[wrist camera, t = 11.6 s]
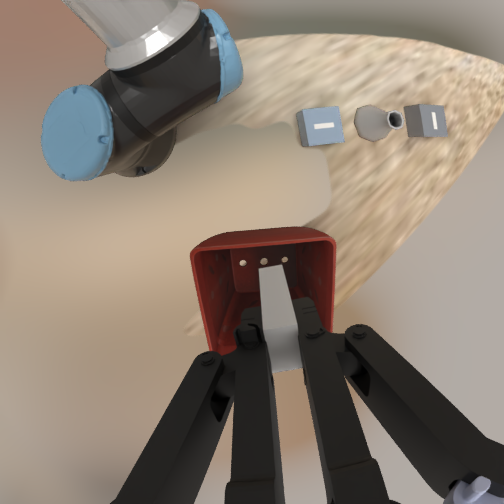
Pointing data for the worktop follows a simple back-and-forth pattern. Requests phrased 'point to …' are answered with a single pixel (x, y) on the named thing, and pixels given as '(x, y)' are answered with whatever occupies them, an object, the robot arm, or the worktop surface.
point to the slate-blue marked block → (320, 126)
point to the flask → (376, 122)
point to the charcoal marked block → (425, 121)
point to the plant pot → (247, 278)
